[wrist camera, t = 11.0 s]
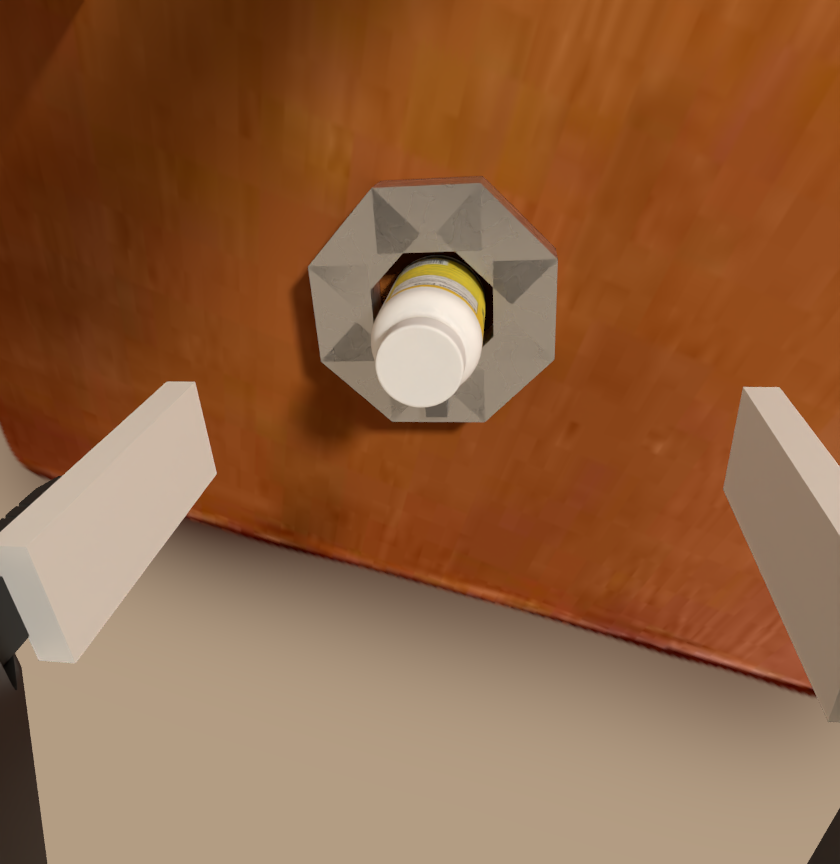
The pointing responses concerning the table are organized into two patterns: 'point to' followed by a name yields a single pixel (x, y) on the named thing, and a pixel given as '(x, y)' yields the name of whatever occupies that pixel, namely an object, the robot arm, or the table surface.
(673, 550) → the table surface
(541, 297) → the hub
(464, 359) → the supplement bottle
